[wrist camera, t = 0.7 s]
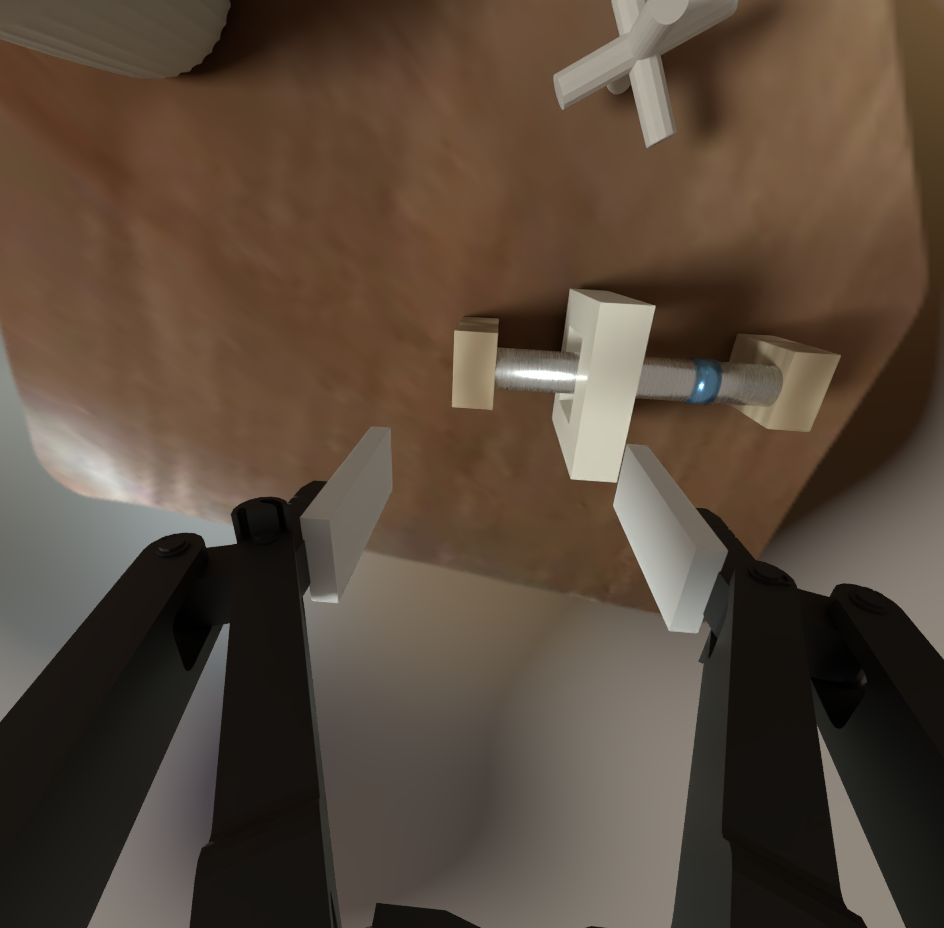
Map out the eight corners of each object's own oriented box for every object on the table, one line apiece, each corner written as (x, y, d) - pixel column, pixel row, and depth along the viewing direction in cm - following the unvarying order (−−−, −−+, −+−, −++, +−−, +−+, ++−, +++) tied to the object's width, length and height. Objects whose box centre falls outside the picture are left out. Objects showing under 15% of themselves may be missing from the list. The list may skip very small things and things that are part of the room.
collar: (551, 418, 40) (570, 478, 29) (570, 288, 35) (600, 302, 24) (585, 420, 39) (616, 482, 29) (607, 290, 35) (655, 305, 24)
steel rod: (462, 381, 35) (459, 393, 32) (464, 339, 33) (460, 347, 30) (782, 403, 34) (809, 417, 31) (798, 360, 32) (828, 371, 29)
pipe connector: (709, 121, 31) (796, 63, 21) (572, 190, 33) (599, 165, 24) (675, -61, 27) (763, -222, 18) (524, 31, 29) (534, -70, 20)
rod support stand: (461, 379, 40) (452, 406, 32) (463, 316, 37) (454, 330, 30) (752, 399, 39) (809, 431, 31) (774, 335, 36) (841, 355, 29)
